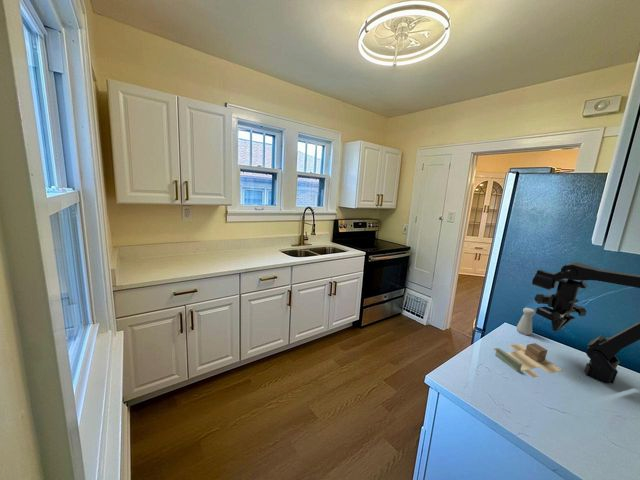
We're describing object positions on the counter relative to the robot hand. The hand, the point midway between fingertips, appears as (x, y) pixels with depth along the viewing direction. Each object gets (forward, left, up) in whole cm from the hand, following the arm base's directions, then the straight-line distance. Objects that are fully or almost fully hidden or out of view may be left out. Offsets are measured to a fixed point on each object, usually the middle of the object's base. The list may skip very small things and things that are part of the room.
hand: (555, 330), depth 102 cm
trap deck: (+9, +9, -12) cm, 17 cm away
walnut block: (+5, +6, -11) cm, 13 cm away
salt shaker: (+6, -14, -12) cm, 20 cm away
